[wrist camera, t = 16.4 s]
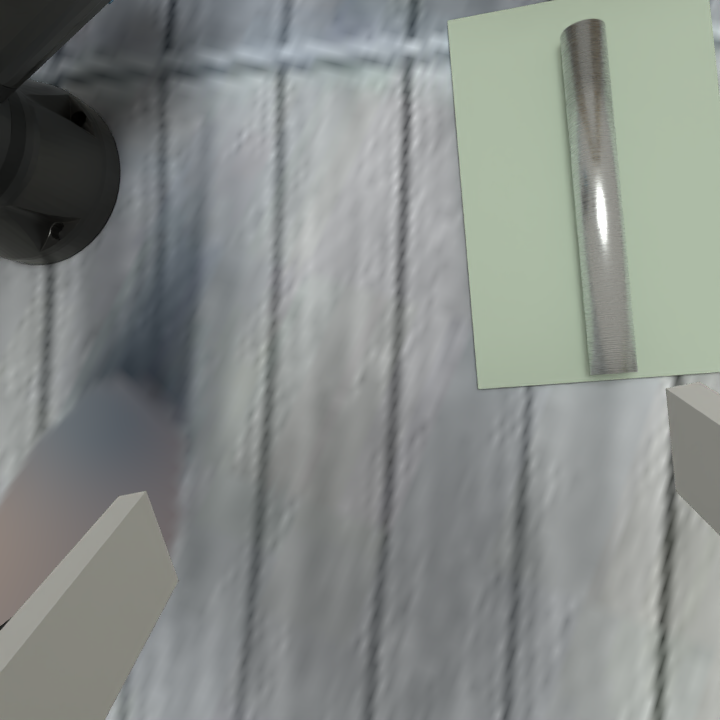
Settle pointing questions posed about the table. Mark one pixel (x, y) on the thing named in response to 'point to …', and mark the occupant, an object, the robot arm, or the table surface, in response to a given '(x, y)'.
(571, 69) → the steel rod
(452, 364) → the table surface
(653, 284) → the sage mat
